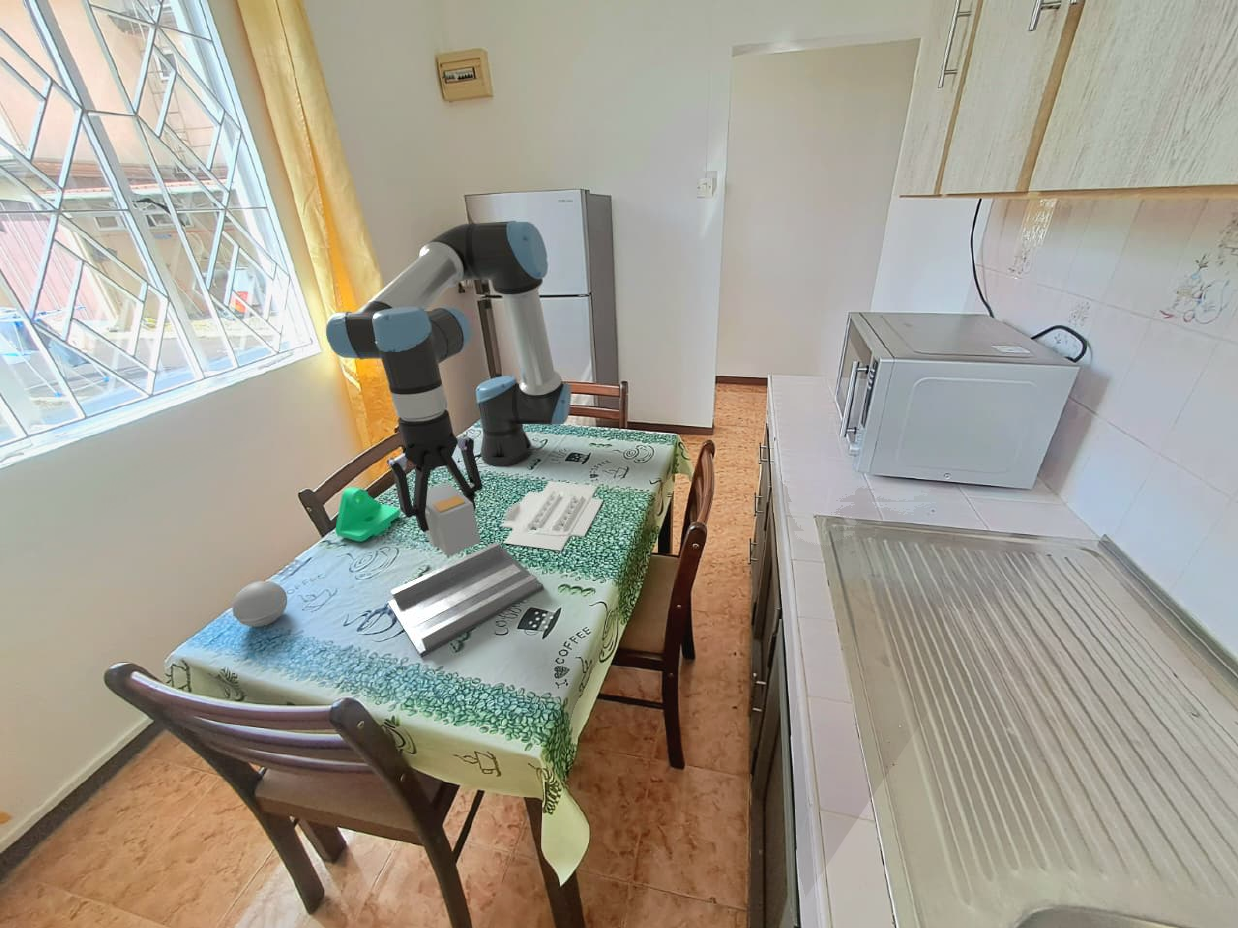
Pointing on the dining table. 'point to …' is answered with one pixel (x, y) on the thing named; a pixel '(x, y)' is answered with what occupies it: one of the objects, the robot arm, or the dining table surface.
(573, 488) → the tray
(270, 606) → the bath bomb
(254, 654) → the dining table surface
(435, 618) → the rail
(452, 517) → the module
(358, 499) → the camera mount
